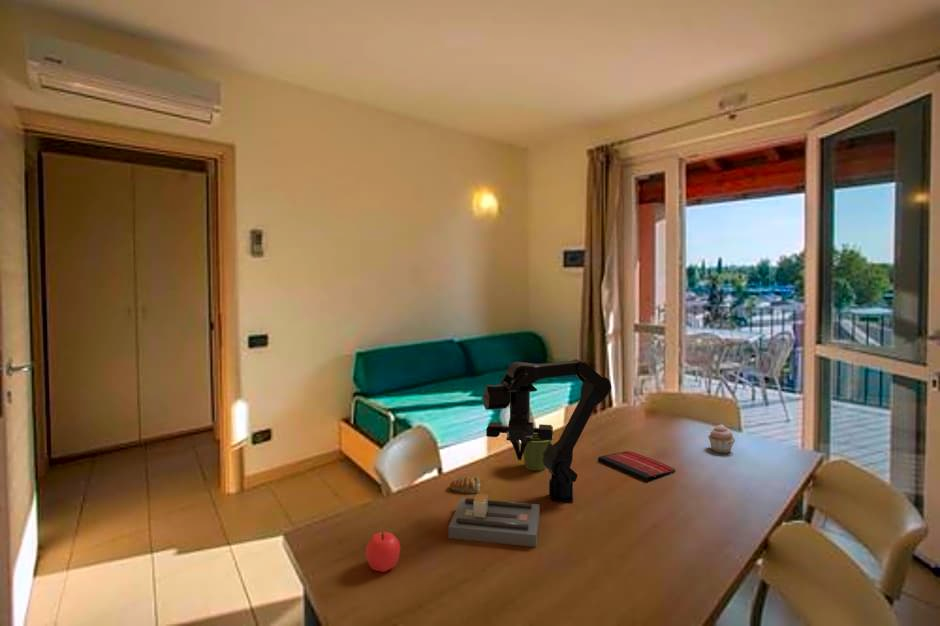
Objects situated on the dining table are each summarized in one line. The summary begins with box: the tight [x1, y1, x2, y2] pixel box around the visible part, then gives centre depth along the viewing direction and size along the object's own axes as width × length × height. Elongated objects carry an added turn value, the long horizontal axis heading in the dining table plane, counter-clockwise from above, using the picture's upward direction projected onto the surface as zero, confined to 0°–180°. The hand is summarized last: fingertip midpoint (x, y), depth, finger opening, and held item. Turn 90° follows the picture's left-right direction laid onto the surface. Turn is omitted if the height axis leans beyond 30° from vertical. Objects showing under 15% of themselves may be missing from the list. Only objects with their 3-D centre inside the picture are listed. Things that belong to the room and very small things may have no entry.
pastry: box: [449, 476, 481, 494], centre depth 151 cm, size 9×7×4 cm
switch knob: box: [473, 492, 489, 518], centre depth 129 cm, size 3×5×4 cm, turn 169°
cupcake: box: [707, 423, 736, 454], centre depth 181 cm, size 9×9×10 cm
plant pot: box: [522, 435, 554, 472], centre depth 167 cm, size 12×12×11 cm
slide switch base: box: [447, 497, 541, 548], centre depth 129 cm, size 22×16×4 cm
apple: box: [365, 531, 401, 573], centre depth 112 cm, size 8×8×8 cm
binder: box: [597, 450, 676, 483], centre depth 168 cm, size 16×2×21 cm
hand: (519, 459), depth 141 cm, fingers closed
